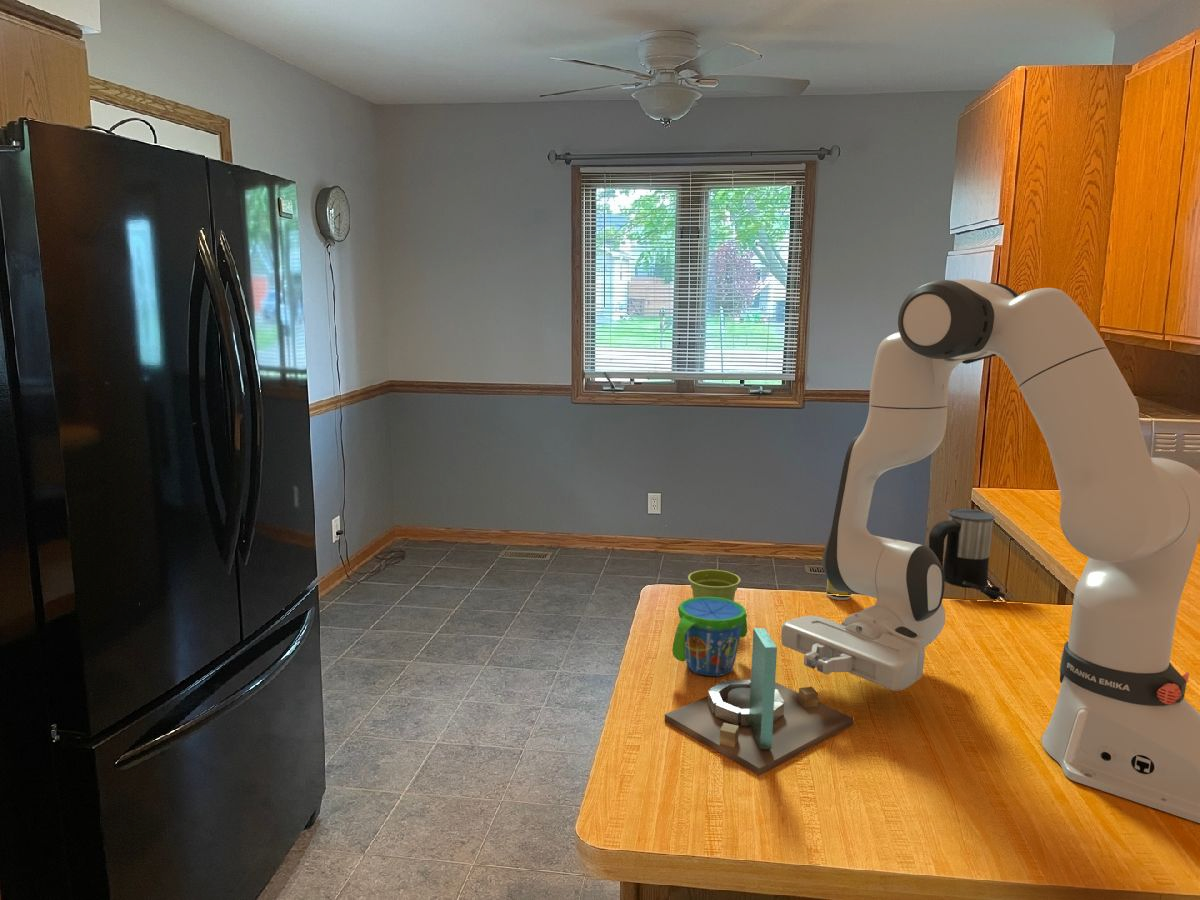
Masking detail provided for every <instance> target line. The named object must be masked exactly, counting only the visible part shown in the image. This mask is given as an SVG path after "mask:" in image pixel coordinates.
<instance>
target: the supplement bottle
mask: <svg viewBox="0 0 1200 900" xmlns="http://www.w3.org/2000/svg"><path fill="white" fill-rule="evenodd" d="M826 579H827V581H826V596H827V597H828V598H829V599H831V600H837V601H847V600H850V599H851V598H852V593H849V592H843V591H838V590H836V589H835V588H834V587H833V586H832V585H831V583H830V582H829V580H828V578H826ZM827 594H839V595H851V596H836V595H827Z"/></svg>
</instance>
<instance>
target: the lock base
mask: <svg viewBox="0 0 1200 900" xmlns="http://www.w3.org/2000/svg"><path fill="white" fill-rule="evenodd" d="M745 680H750V681H751V677H749V678H747V679H745ZM775 689H777V690H778V692H779V693H780V695H781V697H782V698H783V700H784V713H783V715H782V716H780V717H779V718H778V719H776V720H775V721H774V722H773V730H772V748H771V749H760V748H759V746H758V744H757V742H756V740H755V738H754V736H753V734H752V731H751V729H750V727H749V725H746V726H741V724H740V723H739V724H738V725H736V724H734V723H731V722H729V721H726V720H724V719H721V718H719V717H716V716H715V714H713V713H712V710H711V708H710V705H709V703H708V695H706V696H703V697H702V698H700V699H698V700H695V701H692V702H691V703H688V704H685V705H683V706H681V707H678V708H676V709H674V710H671V711H669V712H666V713H664V722H666V723H668V724H670V725H671V726H673V727H675V728H676V729H678V730H680V731H682V732H683V733H685V734H687V735H688V736H690V737H692V738H694V739H695V740H696V741H699V742H701V743H702V744H704V745H706V746H708V747H709V748H711V749H713V750H714V751H716V752H718V753H720V754H721V755H723V756H725V757H727V758H729V759H730V760H732V761H733V762H735V763H737V764H739V765H740V766H742V767H743V768H745V769H747V770H749V771H750V772H752V773H754V774H756V775H757V776H762V775H763V774H766V772H769V771H770V770H772V769H775V768H776V767H778V766H780V765H782V764H783V763H785V762H787V761H788V760H791V759H792V758H794V757H795V756H798V755H800V754H802V753H804V752H805V751H807V750H809V749H811V748H813V747H815V746H816V745H819V744H820V743H822V742H824V741H825V740H827V739H830V738H831V737H833V736H835V735H836V734H839V733H840V732H842V731H845V730H846V729H848V728H850V727H851V726H853V725H854V717H852V716H850V715H848V714H846V713H843V712H842V711H839V710H837V709H835V708H832V707H830V706H828V705H826V704H824V703H822V702H819V692H817V690H816V689H815V688H813V686H806V687H798V692H797V691H795V690H793V689H792V688H790V687H787V686H785V685H783V684H780V683H779V682H776V681H775ZM722 701H723V702H725V703H728V704H730V705H733V706H735V707H738V708H740V709H750V688H736V689H733V690H731V691H730V692H729V693H728V697H726V698H724V699H723V700H722Z"/></svg>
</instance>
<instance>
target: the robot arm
mask: <svg viewBox="0 0 1200 900" xmlns="http://www.w3.org/2000/svg"><path fill="white" fill-rule="evenodd" d="M897 326H898V331H897V332H894V333H892V334H890V335H888V336H886V337H885V338H883V339H882V340H881V342H880V344H879V345H878V347H877V351H876V354H875V359H874V363H873V368H872V372H871V373H872V374H871V379H870V390H869V402H868V403H869V406H868V407H869V408H868V415H867V418H866V422H865V425H864V428H863V430H862V432H861V433H860V434H859V435H857V436H854V438H853V439H852V440H851V441H850V443H849V445H848V448H847V451H846V453H845V457H844V462H843V466H842V469H841V476H840V481H839V486H838V492H837V497H836V501H835V502H836V503H835V507H834V508H835V509H834V514H833V519H832V524H831V529H830V532H829V535H828V538H827V541H826V543H825V546H824V549H823V552H822V553H823V554H822V557H821V565H822V569H823V573H824V574H825V577H826V579H828V580H829V582H830V583H831V585H832V586H833V587H834V588H835V589H836V590H838V591H843V592H849V593H851V594H857V595H862V596H863V595H864V596H867V597H871V598H874V599H875V598H876V602H875V604H874V605H871V606H869V607H867V608H864V609H861V610H860V611H856V612H854V613H851V614H850V615H848V616H847V617H845V618H844V620H842V623H839V622H836V621H834V620H831V619H828V618H826V617H822V616H819V615H804V616H800V617H795V618H793V619H789V620H785V621H784V622H783V623H782V626H781V632H780V634H781V635H780V638H781V644H782V645H783V646H784V647H786V648H789V649H791V650H793V651H795V652H798V653H800V654H803V655H804V658H803V665H804V666H806V667H807V668H810V669H814V670H815V669H816V671H818V672H820V673H822V674H824V675H829V674H831V673H850V674H852V675H854V676H856V677H858V678H859V677H860V678H862V679H864V680H866V681H869V682H872V683H873V684H876V685H879V686H881V687H883V688H885V689H886V688H887V689H888V690H891V691H904V690H906V689H908V688H909V687H911V686H912V685H914V684H915V682H918V681H920V680H921V679H922V676H923V671H924V666H925V653H926V647H927V646H929V645H930V644H931V643H932V642H934V641H935V640H936V638H938V636H939V635H940V634H941V632H942V631H943V629H944V626H945V624H946V611H945V607H944V605H943V604H942V602H943V599H944V593H945V583H946V582H945V581H944V572H943V568H942V566H941V564H940V562H939V560H938V558H937V556H936V555H935V553H934V552H933V551H932V550H931V549H930V548H929V545H928V546H927V545H923V544H919V543H914V542H910V541H904V540H901V539H893V538H888V537H883V536H878V535H873V534H871V532H870V531H868V528H867V523H868V518H869V513H870V507H871V503H872V499H873V492H874V487H875V484H876V482H877V480H878V478H879V477H881V475H882V474H884V473H885V472H888V471H890V470H892V469H896V468H899V467H903V466H907V465H911V464H913V463H917V462H919V461H921V460H923V459H925V458H927V457H929V456H930V455H932V454H933V453H934V452H935V451H936V449H938V447H940V445H941V443H942V442H943V440H944V438H945V433H946V430H947V429H946V428H947V422H948V403H949V401H948V400H949V399H948V396H949V394H948V393H949V383H950V382H949V381H950V377H951V375H952V372H953V371H954V369H955V368H956V367H957V366H958V365H959V364H961V363H962V364H964V365H965V364H966V365H967V364H971V363H975V362H978V361H981V360H985V359H989V358H993V357H999V358H1000V359H1001V360H1002V361H1003V362H1004V364H1005V365H1006V366H1007V369H1009V371H1010V373H1011V375H1012V377H1013V379H1014V381H1015V383H1016V385H1017V387H1018V388H1019V391H1020V393H1021V395H1022V397H1023V399H1024V400H1025V403H1026V405H1027V406H1028V408H1029V411H1030V412H1031V414H1032V416H1033V418H1034V420H1035V422H1036V424H1037V426H1038V428H1039V430H1040V432H1041V434H1042V437H1043V439H1044V441H1045V443H1046V446H1047V449H1048V452H1049V456H1050V459H1051V463H1052V467H1053V471H1054V474H1055V479H1056V483H1057V487H1058V490H1059V496H1060V510H1059V523H1060V525H1059V526H1060V528H1061V529H1060V530H1061V531H1062V533H1063V536H1064V537H1065V539H1066V541H1067V542H1068V543H1069V544H1070V546H1072V548H1074V549H1075V550H1076V552H1077V551H1078V552H1079V553H1080V554H1082V555H1084V556H1086V557H1088V558H1087V559H1088V560H1087V562H1086V565H1085V567H1084V569H1083V572H1082V573H1081V575H1080V577H1079V579H1078V581H1077V583H1076V585H1075V588H1074V593H1073V594H1074V595H1073V600H1072V601H1073V602H1072V607H1071V615H1070V616H1071V619H1070V623H1069V624H1070V625H1069V632H1068V641H1066V642H1064V646H1063V650H1062V653H1061V657H1060V664H1059V665H1060V666H1059V683H1060V687H1059V688H1060V689H1059V692H1058V697H1057V699H1056V702H1055V703H1056V704H1055V706H1054V710H1053V712H1052V716H1051V717H1050V720H1049V723H1048V725H1047V727H1046V729H1045V730H1044V732H1043V734H1042V736H1041V744H1042V747H1043V748H1044V750H1045V752H1047V754H1048V755H1049V756H1050V757H1051V758H1053V759H1054V760H1055V761H1056V762H1057V763H1058V764H1059V765H1060V766H1061V769H1062V772H1063V774H1064V775H1065V777H1067V778H1068V779H1069V780H1071V781H1073V782H1075V783H1079V784H1081V785H1085V786H1088V787H1091V788H1094V789H1097V790H1099V791H1102V792H1106V793H1109V794H1111V795H1115V796H1117V797H1120V798H1124V799H1126V800H1129V801H1133V802H1135V803H1137V804H1138V803H1139V804H1140V805H1144V806H1148V807H1149V808H1153V809H1156V810H1158V811H1162V812H1165V813H1168V814H1171V815H1174V816H1177V817H1180V818H1183V819H1186V820H1189V821H1193V822H1194V823H1198V824H1200V712H1199V711H1198V710H1197V709H1196V708H1195V707H1193V705H1191V704H1190V702H1189V701H1188V700H1187V699H1185V695H1186V688H1187V684H1188V683H1189V677H1190V672H1188V671H1186V673H1184V674H1183V675H1181V674H1180V672H1179V671H1178V670H1177V669H1176V668H1175V667H1174V666H1173V664H1172V663H1171V662H1170V661H1171V653H1172V650H1173V649H1172V648H1173V641H1174V635H1175V629H1176V623H1177V617H1178V612H1179V607H1180V602H1181V598H1182V595H1183V591H1184V589H1185V586H1186V583H1187V580H1188V577H1189V573H1190V570H1191V568H1192V565H1193V561H1194V558H1195V555H1196V550H1197V547H1198V544H1199V539H1200V473H1199V472H1198V471H1197V470H1195V469H1194V468H1193V467H1192V466H1189V465H1188V464H1186V463H1183V462H1180V461H1177V460H1174V459H1169V458H1164V457H1151V455H1150V453H1149V449H1148V446H1147V443H1146V439H1145V436H1144V433H1143V430H1142V429H1143V428H1142V425H1141V421H1140V415H1139V414H1140V408H1139V404H1138V403H1139V402H1138V401H1137V398H1136V397H1135V395H1134V394H1133V392H1132V390H1131V388H1130V387H1129V385H1128V382H1127V381H1126V379H1125V377H1124V375H1123V374H1122V371H1121V370H1120V369H1119V367H1118V364H1117V363H1116V361H1115V359H1114V358H1113V356H1112V354H1111V352H1110V350H1109V348H1108V346H1106V343H1105V342H1104V340H1103V338H1102V337H1101V335H1100V334H1099V332H1098V331H1097V329H1096V328H1095V326H1094V325H1093V323H1092V322H1091V321H1090V319H1089V318H1088V317H1087V315H1086V314H1085V312H1084V311H1082V310H1081V308H1080V306H1079V305H1078V304H1077V303H1076V302H1075V301H1074V300H1073V299H1072V298H1071V296H1069V295H1068V294H1067V293H1066V292H1065V291H1063V290H1061V289H1059V288H1056V287H1055V288H1054V287H1042V288H1041V287H1040V288H1036V289H1035V288H1034V289H1031V290H1028V291H1025V292H1023V293H1020V294H1019V293H1018V292H1017V291H1015V289H1012V288H1010V287H1009V286H1006V285H1005V284H1001V283H998V282H997V283H996V282H986V281H982V280H981V281H980V280H977V279H969V278H967V279H964V278H963V279H960V278H959V279H950V280H949V279H938V280H933V281H930V282H927V283H925V284H922V285H921V286H919V287H917V288H915V289H913V290H912V292H911V293H909V294H908V295H907V297H906V298H905V299H904V301H903V302H902V304H901V306H900V309H899V311H898V317H897Z"/></svg>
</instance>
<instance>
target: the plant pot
mask: <svg viewBox="0 0 1200 900" xmlns="http://www.w3.org/2000/svg"><path fill="white" fill-rule="evenodd" d="M687 580H688V582H689V583H690V587H691V588H690V589H691V590H692V598H695V597H718V598H724V599H728V600H732V601H735V595H736V591H737V589H738V585H739V584H741V577H740V576H739V575H738V574H735V573H733V572H731V571H726V570H719V569H701V570H696V571H692V572H691V573H689V574H688V575H687Z"/></svg>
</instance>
